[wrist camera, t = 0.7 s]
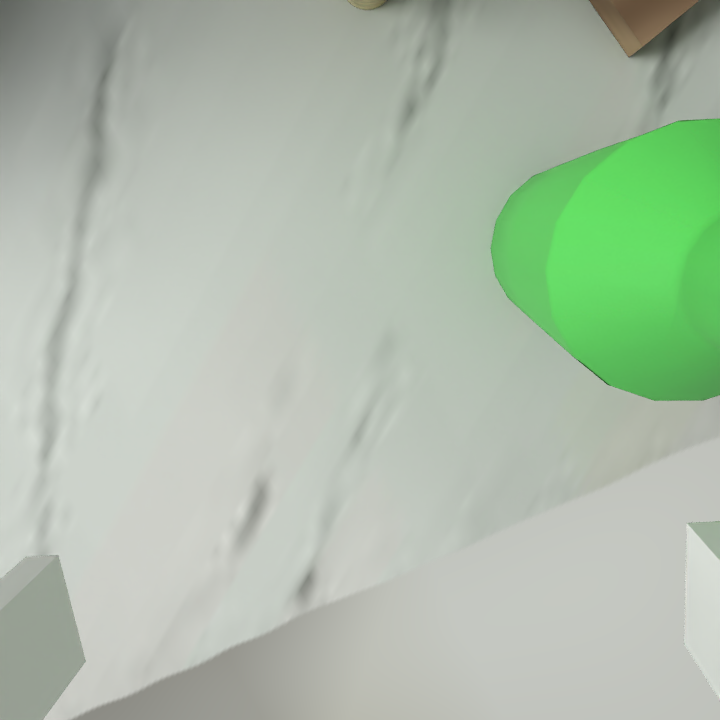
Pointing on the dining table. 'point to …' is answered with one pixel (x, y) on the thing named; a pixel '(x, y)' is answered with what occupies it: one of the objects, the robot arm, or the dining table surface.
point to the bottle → (625, 260)
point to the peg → (366, 4)
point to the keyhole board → (639, 19)
